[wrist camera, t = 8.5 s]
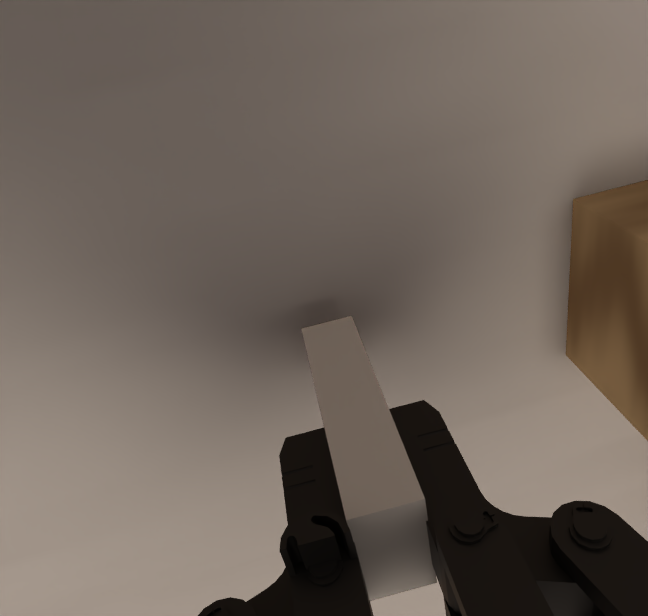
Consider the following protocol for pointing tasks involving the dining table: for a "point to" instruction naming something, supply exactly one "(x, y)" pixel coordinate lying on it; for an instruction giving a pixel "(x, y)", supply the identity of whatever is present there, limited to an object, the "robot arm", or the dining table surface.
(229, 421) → the dining table surface
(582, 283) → the block
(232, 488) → the dining table surface
